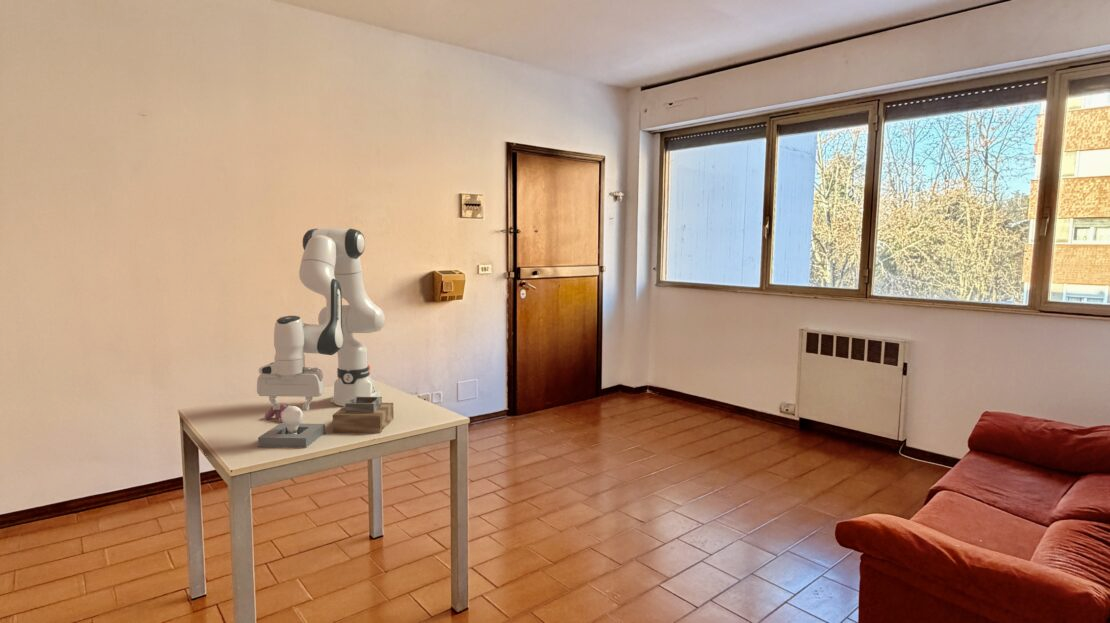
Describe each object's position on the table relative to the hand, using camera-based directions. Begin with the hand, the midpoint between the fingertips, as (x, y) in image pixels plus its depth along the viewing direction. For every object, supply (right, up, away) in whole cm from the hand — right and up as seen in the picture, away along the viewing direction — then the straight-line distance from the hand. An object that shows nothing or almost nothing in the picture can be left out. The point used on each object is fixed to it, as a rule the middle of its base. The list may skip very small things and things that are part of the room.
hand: (291, 409), depth 192 cm
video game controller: (-14, -8, +23) cm, 28 cm away
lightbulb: (0, -10, +2) cm, 10 cm away
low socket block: (0, -10, +2) cm, 10 cm away
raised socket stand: (+18, -8, +17) cm, 26 cm away
